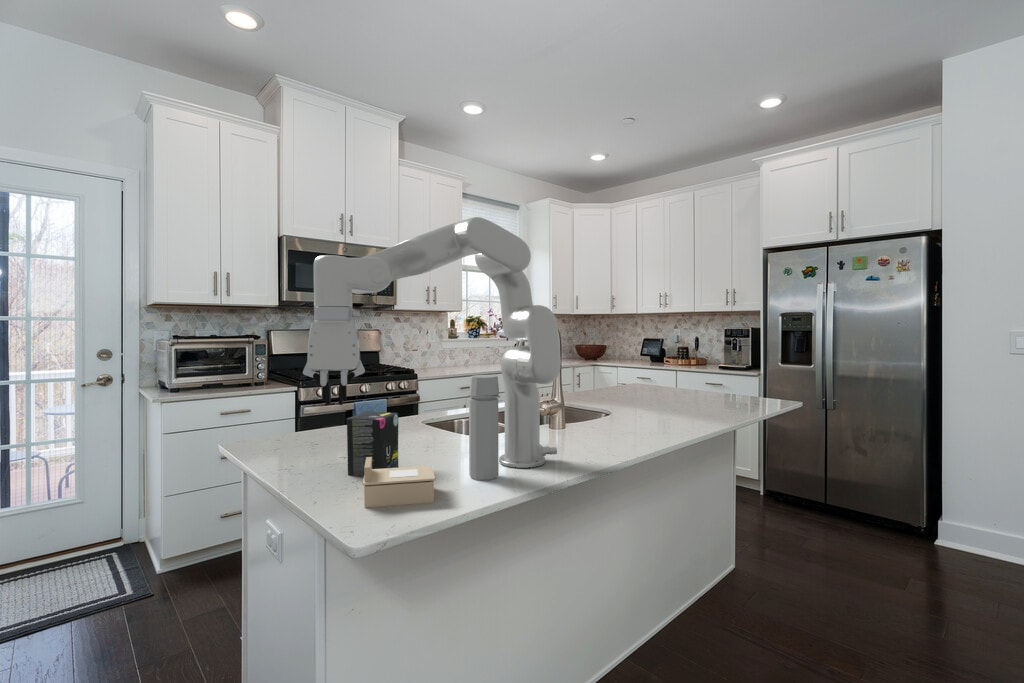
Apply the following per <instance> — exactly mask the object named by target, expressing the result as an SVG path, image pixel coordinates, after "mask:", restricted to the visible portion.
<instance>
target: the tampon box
mask: <svg viewBox="0 0 1024 683" xmlns="http://www.w3.org/2000/svg"><path fill="white" fill-rule="evenodd" d="M346 444H347V445H346V446H347V447H346V448H347V449H346V450H347V476H350V477H351V476H352V477H364V467H365V461H366V457H372V469H384V468H399V412H383V411H365V412H362V413H360V414H356V415H354V416H353V415H352V416H351V417H350V416H349V417H347V418H346Z"/></svg>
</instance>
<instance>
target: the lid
mask: <svg viewBox="0 0 1024 683" xmlns="http://www.w3.org/2000/svg"><path fill="white" fill-rule="evenodd" d="M419 481H436V476H435V472H434V469H433V466H432V465H418V466H403V467H398V468H384V469H372V457H366V461H365V467H364V476H363V480H362V486H365V485H376V484H390V483H405V482H419Z"/></svg>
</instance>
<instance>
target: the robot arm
mask: <svg viewBox="0 0 1024 683" xmlns="http://www.w3.org/2000/svg"><path fill="white" fill-rule="evenodd" d="M472 255H474V259H475V264H476V267H477V268H478V269H479V271H480V272H482V273H483V274H484V275H486V276H488V277H489V278H490V279H491V280H492V281H493V283H494V285H495V286H496V288H497V291H498V295H499V296H498V297H499V303H500V313H501V321H502V322H501V323H502V330H503V334H504V336H505V338H507V339H508V340H511V341H515V342H520V343H521V342H523V343H525V342H526V343H528V345H515V346H512V347H510V348H508V349H507V350H506V351H504V354H503V355H502V357H501V363H500V368H501V375H502V379H503V380H502V381H503V387H504V388H503V389H504V454H502V455H500V456H498V463H499V464H500V465H502V464H503V466H505V467H510V468H515V467H516V468H517V469H519V468H520V469H524V468H525V469H526V468H527V469H528V468H529V467H530V468H534V467H535V468H537V467H539V466H542V465H544V464H545V463H546V455H557V454H558V449H557V447H556V446H553V447H552V446H551V447H550V445H549V446H547V445H546V446H543V445H542V444H541V442H540V441H541V440H540V439H541V438H540V437H541V436H540V432H541V431H540V430H541V429H540V428H541V427H540V425H541V424H540V423H541V422H540V417H541V416H540V415H541V414H540V413H541V412H540V410H541V407H540V405H541V404H540V403H541V399H540V397H541V396H540V392H539V389H538V385H548V384H552V383H554V381H556V379H557V378H558V376H559V375H560V372H561V363H562V362H561V361H562V360H561V348H560V338H559V326H558V325H559V324H558V321H557V318H556V316H555V314H554V313H553V311H552V310H551V309H550V308H549V307H547V306H544V305H541V304H540V305H539V304H537V305H534V303H533V298H532V290H531V285H530V282H529V279H528V277H527V275H526V274H525V272H524V270H526V268H528V266H529V265H530V262H531V258H532V257H531V249H530V247H529V246H528V244H527V242H525V241H524V239H522V238H521V237H519V236H517V235H516V234H514V233H512V232H510V231H509V230H507V229H506V228H503V227H502V226H500V225H498V224H496V223H495V222H493V221H492V220H489V219H486V218H484V217H481V216H473V217H470V218H466V219H462V220H459V221H456V222H453V223H450V224H447V225H444V226H442V227H439V228H436V229H433V230H431V231H427V232H426V233H425V232H424V233H422V234H419V235H417V236H413V237H411V238H409V239H407V240H403V241H402V242H399V243H397V244H395V245H393V246H392V245H391V246H390V247H387V248H385V249H383V250H379V251H377V252H374V253H370V254H367V255H364V256H363V257H361V256H360V257H346V256H343V255H336V254H335V255H334V254H325V255H319V256H317V257H315V259H314V261H313V312H314V314H313V317H314V318H313V319H314V322H310V326H309V330H308V331H309V332H308V341H307V360H306V364H305V366H304V368H303V371H302V374H303V375H304V376H307V377H309V378H313V379H314V380H315V381H316V382H317V383H318V384H320V386H321V391H322V392H321V396H322V402H325V406H330V405H331V403H332V393H331V392H332V391H331V390H332V388H331V386H332V385H331V384H330V381H329V371H330V372H331V371H335V372H336V371H340V382H339V385H338V405H339V406H343V405H344V404H345V403H344V401H347V399H348V398H347V396H348V393H347V389H348V388H347V387H348V386H347V385H348V383H350V382H351V381H352V380H353V379H354V378H355V377H358V376H361V375H363V374H365V373H366V372H365V371H366V370H365V367H364V365H363V363H362V360H361V348H360V336H359V329H358V324H357V322H353V320H354V318H360V316H361V314H360V313H361V312H360V310H356V309H355V308H353V294H356V295H361V294H372V293H379V292H381V291H384V290H386V288H388V287H389V286H390V284H391V283H392V282H394V281H397V280H400V279H404V278H408V277H413V276H419V275H422V274H426V273H429V272H431V271H433V270H434V271H435V270H436V269H439V268H441V267H444V266H445V265H449V264H450V263H453V262H456V261H458V260H460V259H463V258H466V257H469V256H472ZM352 370H353V371H352ZM349 371H350V372H349ZM537 384H538V385H537ZM536 466H537V467H536Z"/></svg>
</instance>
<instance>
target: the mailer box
mask: <svg viewBox="0 0 1024 683" xmlns="http://www.w3.org/2000/svg"><path fill="white" fill-rule="evenodd" d="M434 481H435V480H433V481H427V482H421V481H419V482H414V483H407V482H405V483H400V484H399V483H390V484H376V485H363V486H364V487H363V488H364V490H363V494H364V509H367V508H370V509H371V508H380V507H381V508H382V507H390V506H391V507H395V506H405V505H407V506H408V505H417V504H419V505H420V504H433V503H434V502H435V484H434Z"/></svg>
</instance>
